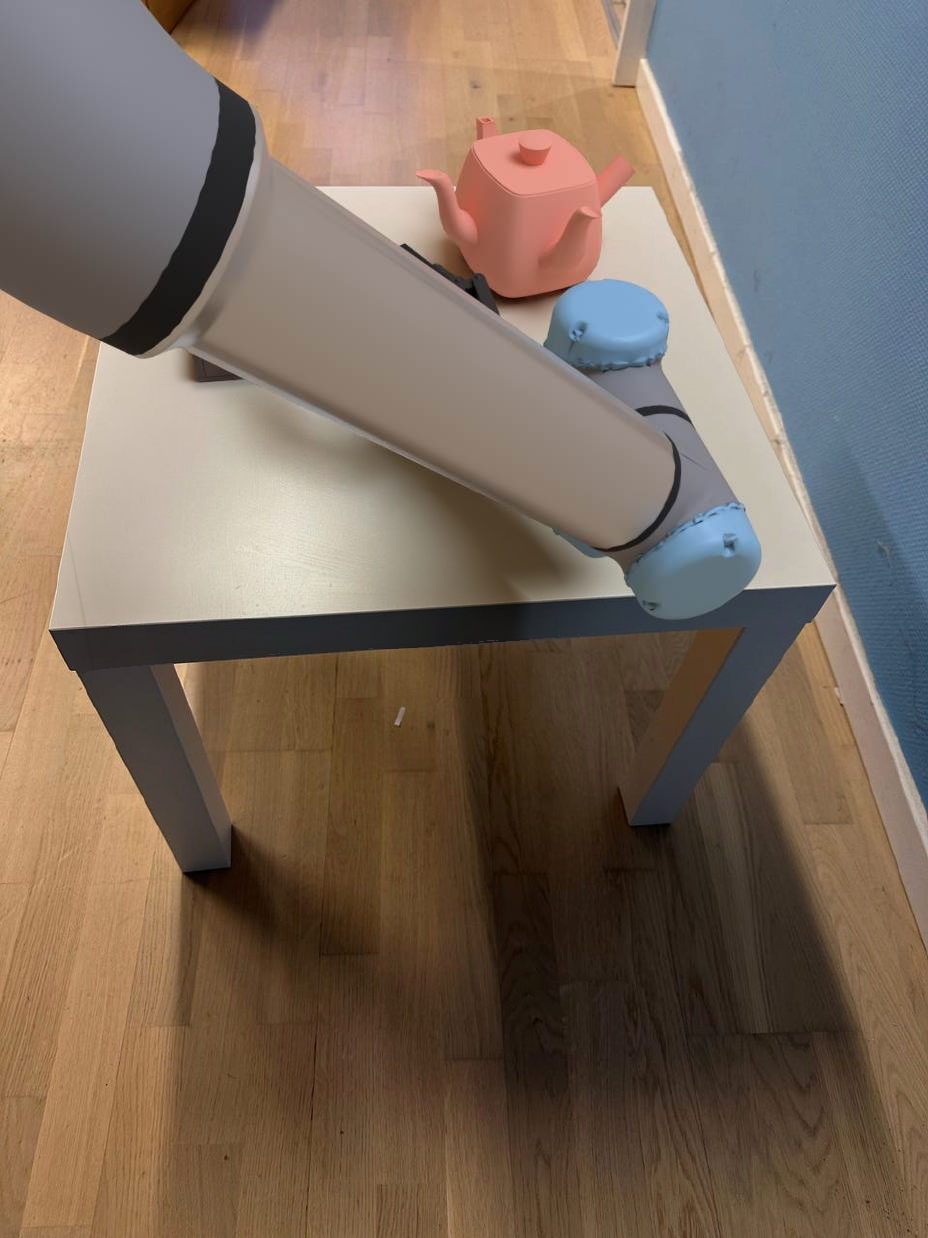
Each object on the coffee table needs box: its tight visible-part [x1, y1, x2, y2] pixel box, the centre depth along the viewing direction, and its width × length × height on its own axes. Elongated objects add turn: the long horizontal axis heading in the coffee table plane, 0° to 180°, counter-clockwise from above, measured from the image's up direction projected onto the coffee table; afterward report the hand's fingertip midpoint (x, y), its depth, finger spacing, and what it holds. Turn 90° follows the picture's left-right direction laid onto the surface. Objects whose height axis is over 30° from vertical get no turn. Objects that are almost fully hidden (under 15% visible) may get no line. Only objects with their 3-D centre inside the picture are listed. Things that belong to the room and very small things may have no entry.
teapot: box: [414, 115, 637, 298], centre depth 93 cm, size 18×18×14 cm
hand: (341, 282), depth 81 cm, fingers open, 13 cm apart
